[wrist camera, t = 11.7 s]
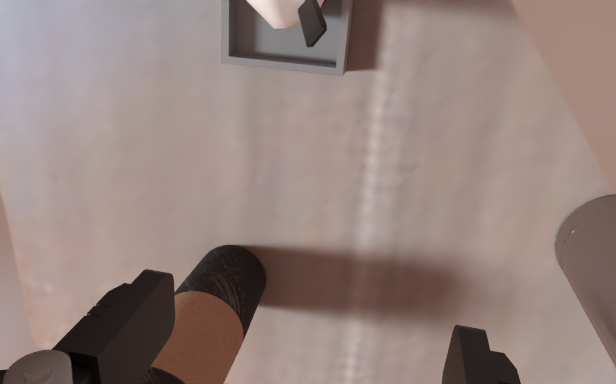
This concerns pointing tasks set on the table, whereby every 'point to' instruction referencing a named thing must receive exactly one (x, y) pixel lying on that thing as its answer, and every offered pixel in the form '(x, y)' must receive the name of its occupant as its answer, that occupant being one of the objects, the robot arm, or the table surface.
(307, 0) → the cocoa
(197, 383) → the travel mug
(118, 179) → the table surface
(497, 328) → the table surface
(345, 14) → the tray
